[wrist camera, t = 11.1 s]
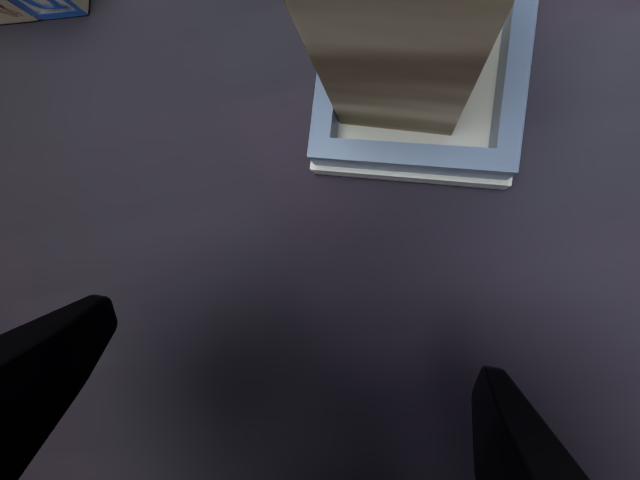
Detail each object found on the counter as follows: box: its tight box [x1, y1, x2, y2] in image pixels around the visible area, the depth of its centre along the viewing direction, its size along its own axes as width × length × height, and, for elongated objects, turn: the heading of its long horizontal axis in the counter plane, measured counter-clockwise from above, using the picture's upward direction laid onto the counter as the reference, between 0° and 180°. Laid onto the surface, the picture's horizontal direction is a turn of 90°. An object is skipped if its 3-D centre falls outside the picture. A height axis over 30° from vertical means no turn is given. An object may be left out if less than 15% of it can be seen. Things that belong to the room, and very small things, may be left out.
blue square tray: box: [307, 0, 539, 190], centre depth 15 cm, size 8×8×2 cm
